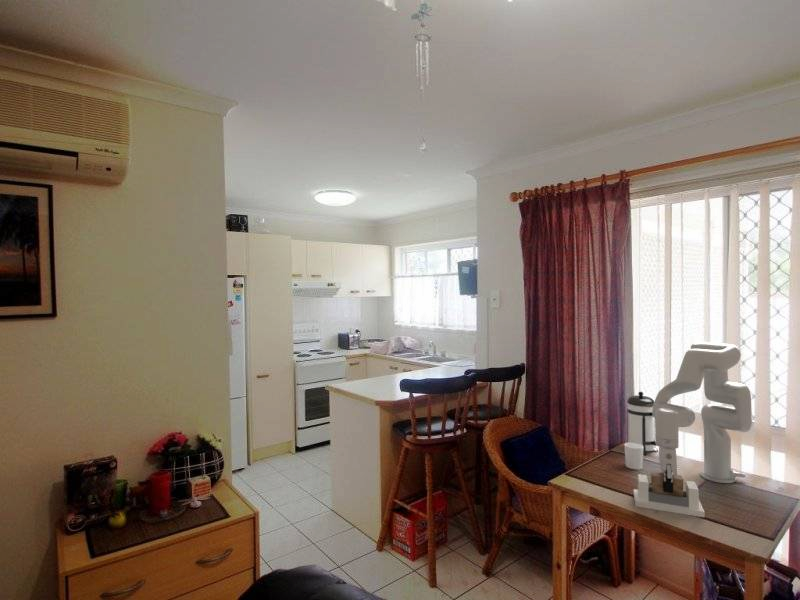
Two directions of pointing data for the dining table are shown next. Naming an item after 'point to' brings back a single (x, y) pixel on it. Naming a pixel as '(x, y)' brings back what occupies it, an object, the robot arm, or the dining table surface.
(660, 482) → the brown wooden block
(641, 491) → the track frame
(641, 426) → the coffee press
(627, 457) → the white cup
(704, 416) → the robot arm
